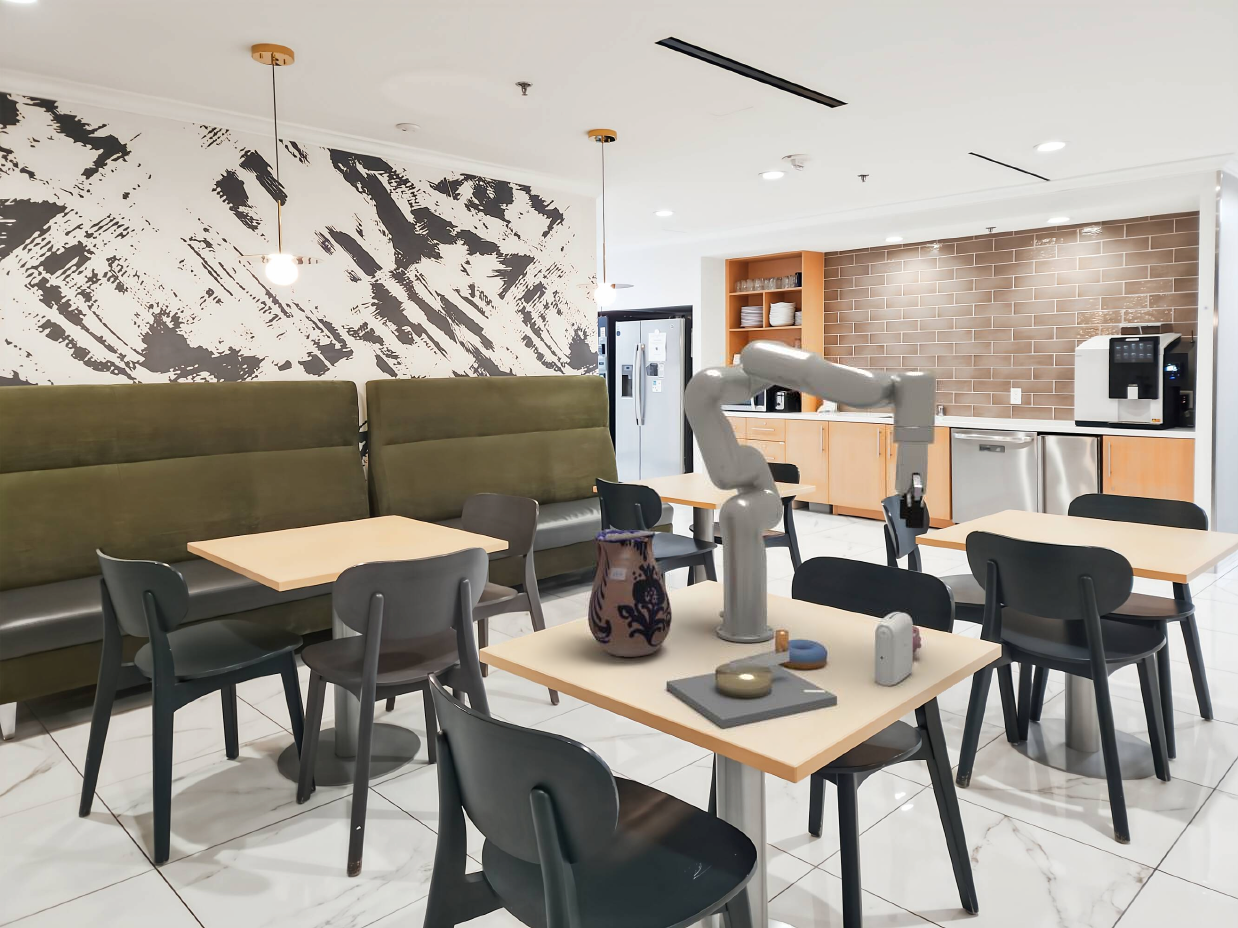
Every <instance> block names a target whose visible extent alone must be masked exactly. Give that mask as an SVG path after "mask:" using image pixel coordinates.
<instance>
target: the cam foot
mask: <svg viewBox="0 0 1238 928" xmlns="http://www.w3.org/2000/svg"><path fill="white" fill-rule="evenodd" d="M789 635H790V634H789V630H786V629H777V630H774V636H775V639H774V641H775V643H774V644H775V645H774V647H775V649H773V650H769V651H765V652H761V653H758V654H754V655H750V656H746V657H743V658H738V659H734V660H731V661H729V662H727V663H724V664H720V665H719V666H717V667H716V668H715V671H714V673H715V685H716V689H717V691H719V692H720V693H722V694H725V695H728V696H732V697H739V698H753V697H760V696H764V695H766V694H768V693H770V692H771V691H772V671H771V669H770V668H768V667H769V666H773V665H779V664H781V663H783V662H787V661H789V639H790V638H789V637H790V636H789Z"/></svg>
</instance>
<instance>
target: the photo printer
mask: <svg viewBox="0 0 1238 928" xmlns="http://www.w3.org/2000/svg"><path fill="white" fill-rule="evenodd" d="M913 623H914V622H913V620H912V617H911V616H910V615H909V614H908V613H906V612H901V611H894V612H891V613H889V614H887V615H886V616H884V617H883V618H882V619H881V620H880V621H879V622H878V624H877V626H876V627H875V631H874V680H875V682H877V684H879V685H881V686H887V687H888V686H889V687H891V686H894V685H896V684H898V683H900V682H901V681H902V680H904V679H906V678H907V676H909V675H910V674H911V673H912V671H913V656H914V655H913V653H914V652H913V626H914V624H913Z"/></svg>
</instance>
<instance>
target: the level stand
mask: <svg viewBox="0 0 1238 928" xmlns="http://www.w3.org/2000/svg"><path fill="white" fill-rule="evenodd" d="M768 668H770V669H771V671H772V691H771V692H770V693H768V694H766V695H764V696H760V697H753V698H739V697H732V696H728V695H725V694H722V693H720V692H719V691H717V689H716V685H715V672H712V673H706V674H700V675H695V676H689V677H684V678H678V679H673V680H666V690H667V689H668V690H669V691H668V690H667V691H668V692H670V693H671V692H672V693H671V694H672V695H674V694H675V695H676V696H675V695H674V696H675V697H677V696H678V697H679V698H678V697H677V698H678V699H679V700H681V699H682V700H681V701H683V702H684V701H685V702H686V703H685V702H684V703H685V704H687V705H688V704H689V705H688V706H689V707H691V708H693V709H694V710H695V709H696V710H695V711H697V712H699V713H700V714H701V713H702V714H701V715H703V716H704V717H705V716H706V717H705V718H707V719H708V720H710V721H712V722H713V723H714V724H715V725H717V726H719V727H720V728H721V729H727V728H728V729H729V728H733V727H736V726H737V727H738V726H741V725H747V724H750V723H755V722H760V721H766V720H769V719H775V718H780V717H784V716H789V715H790V716H791V715H793V714H798V713H802V712H803V713H804V712H807V711H813V710H817V709H821V708H822V709H823V708H827V707H831V706H837V705H838V695H836V694H833V693H832V692H830V691H828V690H825V689H824V688H822V687H820V686H818V685H816V684H814V683H812V682H810V681H808V680H807V679H804V678H802V677H800V676H798V675H796V674H794V673H792V672H791V671H789V670H787V669H785V668H783V667H781V666H779V665H778V664H776V665H773V666H769V667H768Z"/></svg>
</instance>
